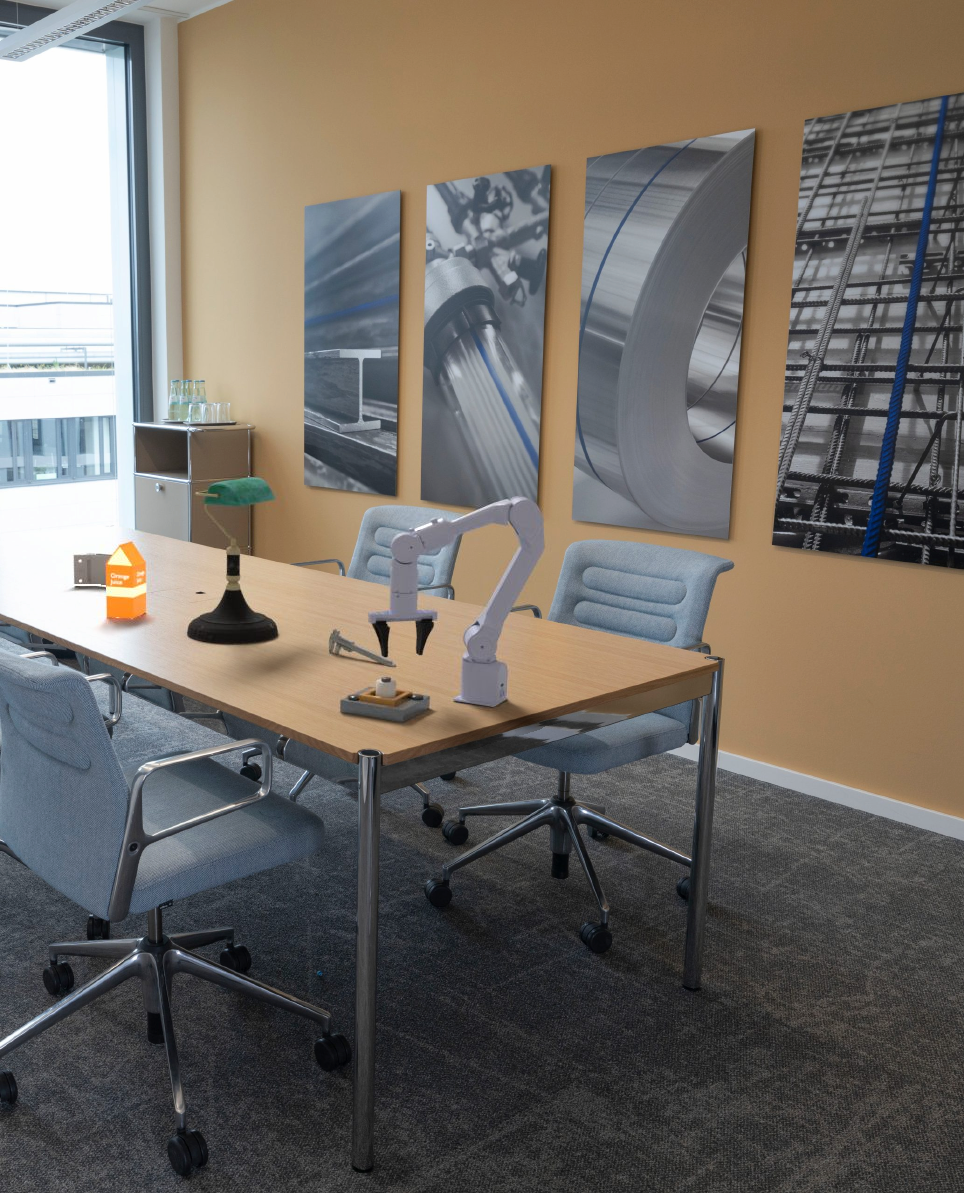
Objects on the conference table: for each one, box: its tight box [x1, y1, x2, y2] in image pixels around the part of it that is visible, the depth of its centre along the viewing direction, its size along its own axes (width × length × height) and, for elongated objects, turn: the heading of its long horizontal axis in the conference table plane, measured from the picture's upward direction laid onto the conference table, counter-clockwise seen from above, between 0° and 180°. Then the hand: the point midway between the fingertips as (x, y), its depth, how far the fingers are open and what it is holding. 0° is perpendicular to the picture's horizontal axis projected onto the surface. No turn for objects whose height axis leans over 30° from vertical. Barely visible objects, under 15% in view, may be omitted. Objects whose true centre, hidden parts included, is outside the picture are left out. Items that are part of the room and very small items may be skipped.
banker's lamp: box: [186, 476, 279, 644], centre depth 279 cm, size 26×23×40 cm
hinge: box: [73, 552, 113, 585], centre depth 339 cm, size 14×5×10 cm, turn 94°
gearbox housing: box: [339, 686, 431, 724], centre depth 220 cm, size 14×12×4 cm
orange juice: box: [105, 541, 147, 619], centre depth 297 cm, size 8×9×20 cm
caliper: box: [328, 628, 397, 668], centre depth 261 cm, size 20×1×6 cm, turn 56°
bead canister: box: [375, 676, 397, 699], centre depth 220 cm, size 4×4×7 cm
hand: (402, 655), depth 228 cm, fingers open, 7 cm apart
